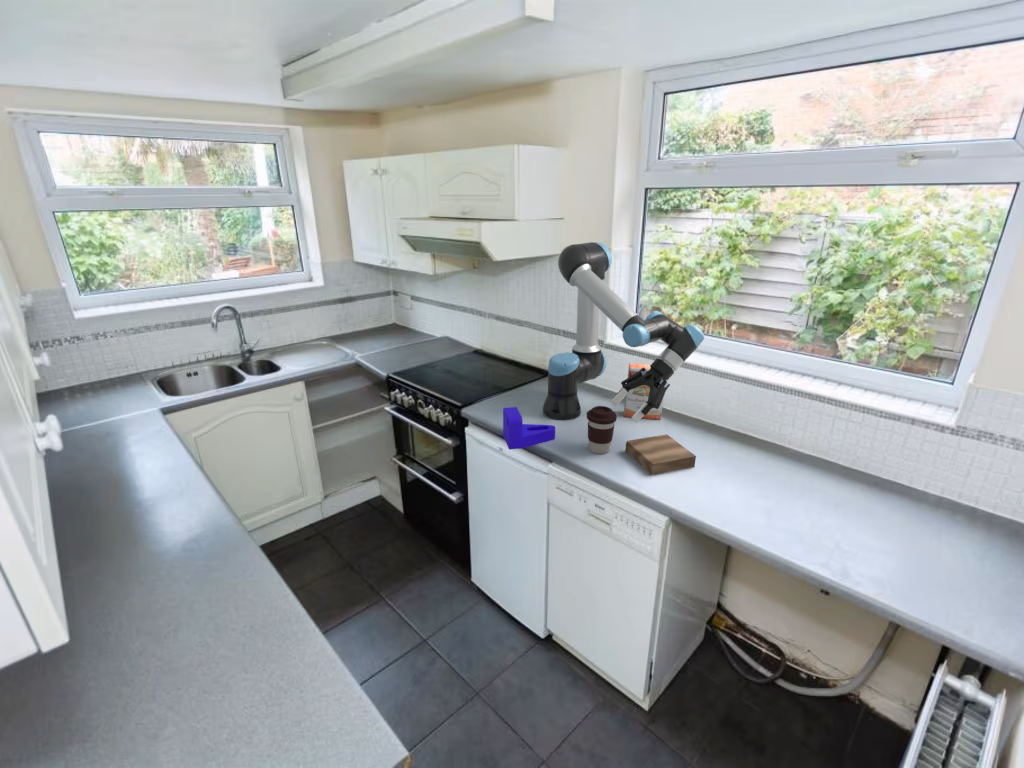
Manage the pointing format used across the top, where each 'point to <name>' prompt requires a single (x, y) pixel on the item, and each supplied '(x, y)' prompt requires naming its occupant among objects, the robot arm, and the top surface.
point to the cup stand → (660, 454)
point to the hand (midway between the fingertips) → (623, 411)
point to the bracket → (523, 430)
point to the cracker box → (639, 396)
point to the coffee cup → (600, 429)
